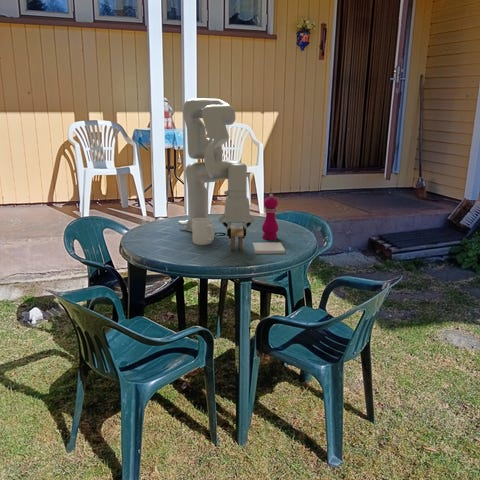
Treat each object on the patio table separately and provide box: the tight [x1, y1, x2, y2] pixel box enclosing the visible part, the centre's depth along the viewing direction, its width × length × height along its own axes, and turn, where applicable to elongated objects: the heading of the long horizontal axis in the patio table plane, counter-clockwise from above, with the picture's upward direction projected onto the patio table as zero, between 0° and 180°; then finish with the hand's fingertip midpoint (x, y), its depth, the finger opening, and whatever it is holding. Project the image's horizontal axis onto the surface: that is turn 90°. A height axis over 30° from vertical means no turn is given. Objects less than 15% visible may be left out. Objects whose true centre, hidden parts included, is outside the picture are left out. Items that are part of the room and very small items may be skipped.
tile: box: [252, 242, 286, 255], centre depth 203 cm, size 12×12×1 cm
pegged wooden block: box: [230, 225, 244, 252], centre depth 203 cm, size 5×8×8 cm, turn 4°
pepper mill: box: [261, 193, 279, 241], centre depth 218 cm, size 7×7×20 cm
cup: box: [192, 217, 216, 246], centre depth 209 cm, size 8×12×10 cm
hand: (236, 237), depth 203 cm, fingers closed on pegged wooden block, 5 cm apart
